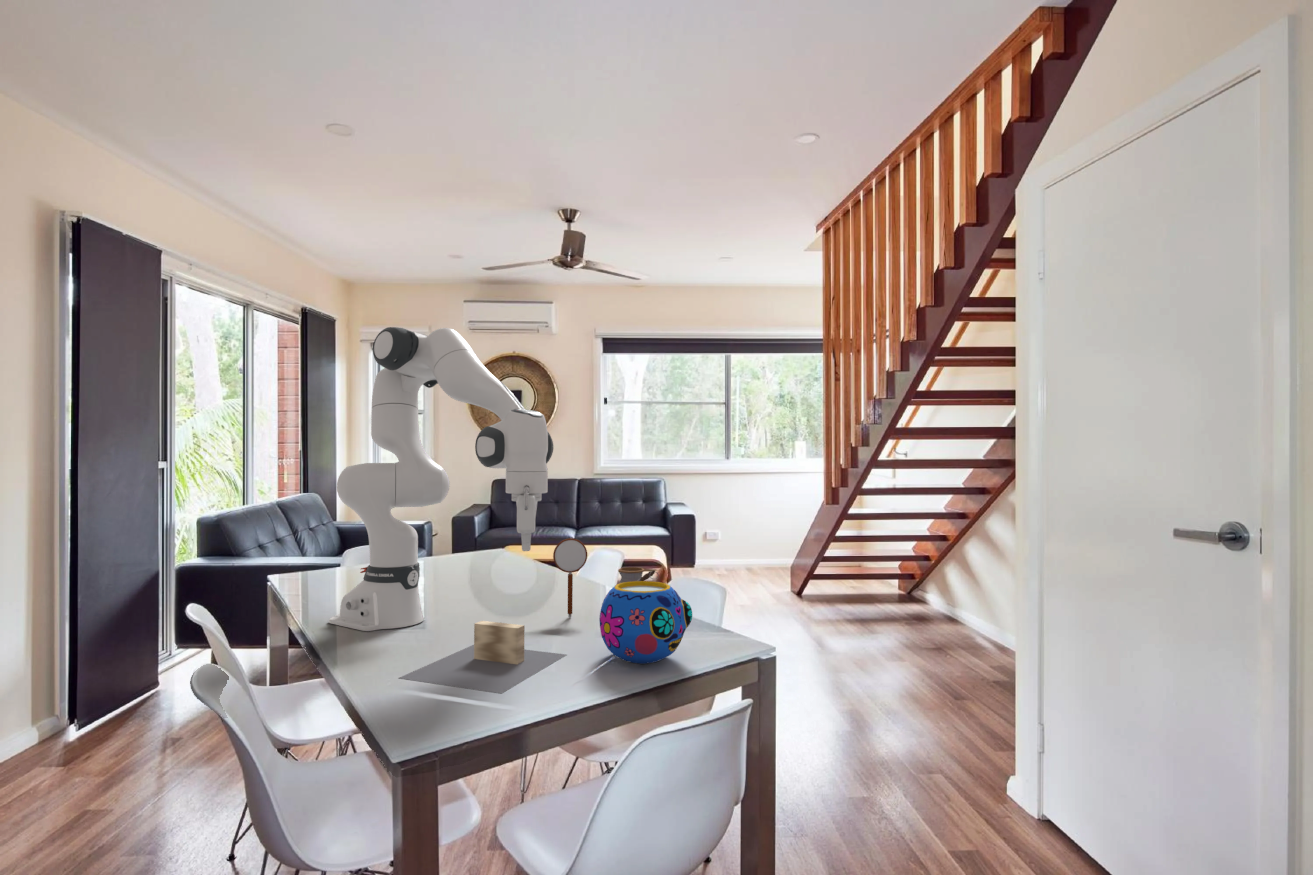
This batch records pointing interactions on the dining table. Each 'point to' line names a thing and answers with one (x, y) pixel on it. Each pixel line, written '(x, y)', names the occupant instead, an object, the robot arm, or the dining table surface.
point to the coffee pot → (634, 574)
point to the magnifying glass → (570, 562)
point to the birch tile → (499, 642)
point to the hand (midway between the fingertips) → (526, 549)
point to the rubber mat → (482, 671)
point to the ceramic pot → (643, 621)
